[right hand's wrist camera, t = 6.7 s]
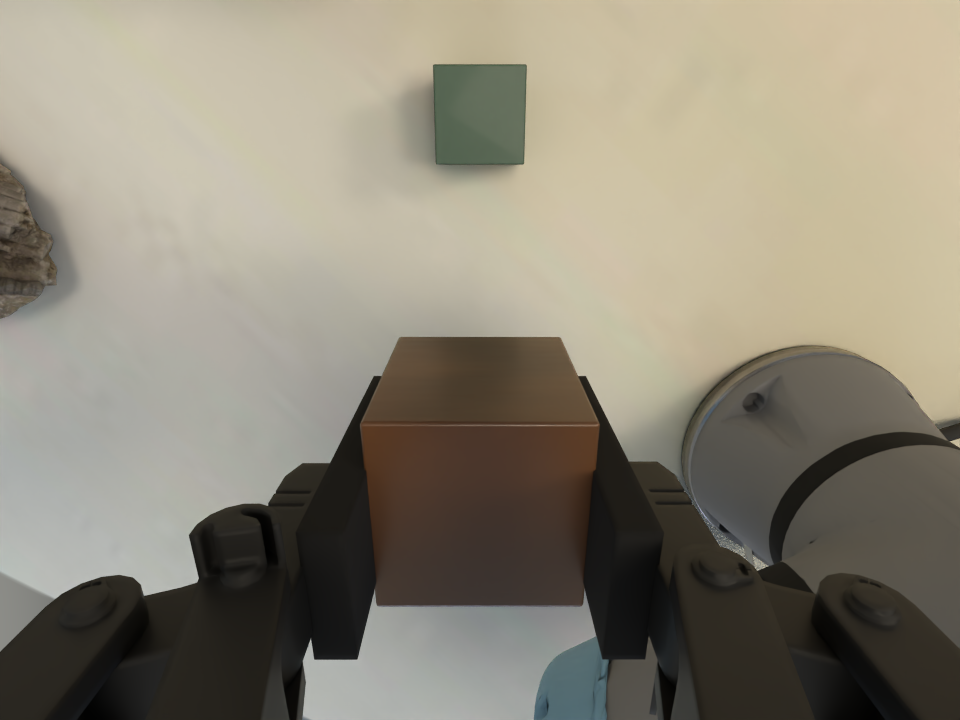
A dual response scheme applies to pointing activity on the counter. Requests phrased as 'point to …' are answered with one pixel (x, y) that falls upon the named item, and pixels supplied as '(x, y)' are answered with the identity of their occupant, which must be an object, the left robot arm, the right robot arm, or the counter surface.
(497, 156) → the green block
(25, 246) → the fossil
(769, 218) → the counter surface
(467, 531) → the walnut block
